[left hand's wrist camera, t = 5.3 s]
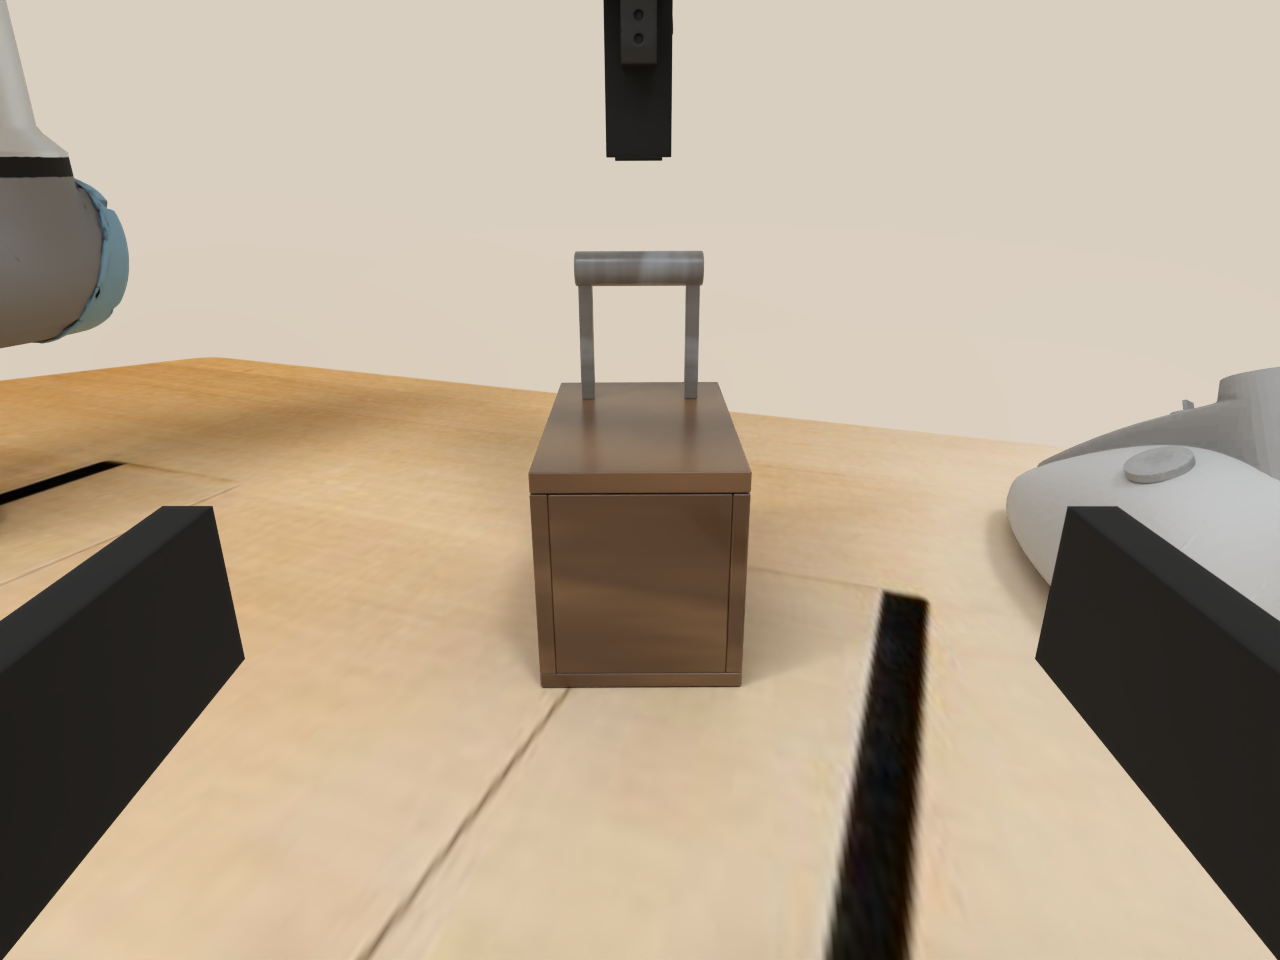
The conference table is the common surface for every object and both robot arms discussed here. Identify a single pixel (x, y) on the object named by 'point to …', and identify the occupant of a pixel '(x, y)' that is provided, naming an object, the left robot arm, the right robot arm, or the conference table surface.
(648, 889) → the conference table surface
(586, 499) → the chest
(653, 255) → the lid
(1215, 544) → the projector
